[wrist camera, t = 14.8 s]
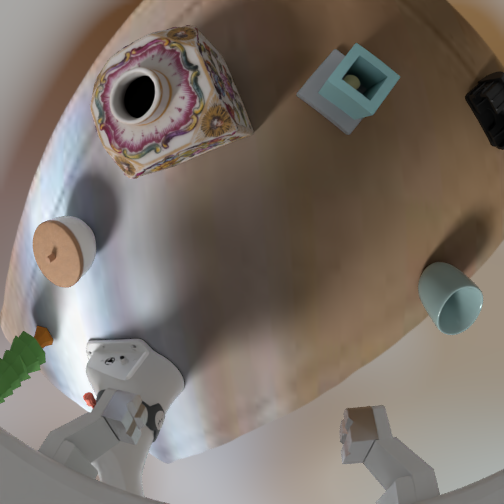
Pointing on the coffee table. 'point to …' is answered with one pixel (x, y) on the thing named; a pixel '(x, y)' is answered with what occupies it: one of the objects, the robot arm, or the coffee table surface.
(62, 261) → the lidded jar
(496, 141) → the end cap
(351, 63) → the collar
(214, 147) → the decorative jar
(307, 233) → the coffee table surface
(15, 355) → the decorative tree
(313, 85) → the shaft block
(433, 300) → the cup
